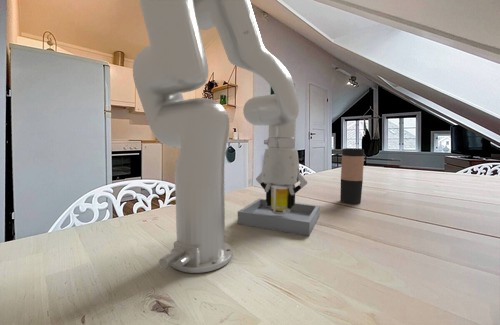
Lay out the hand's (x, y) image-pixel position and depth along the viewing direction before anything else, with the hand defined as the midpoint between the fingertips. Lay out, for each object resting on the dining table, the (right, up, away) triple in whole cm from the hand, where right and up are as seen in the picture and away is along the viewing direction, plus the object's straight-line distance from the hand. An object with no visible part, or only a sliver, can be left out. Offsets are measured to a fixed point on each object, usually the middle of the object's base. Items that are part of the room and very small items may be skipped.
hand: (280, 205), depth 72 cm
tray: (0, -4, +1) cm, 4 cm away
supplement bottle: (0, -2, 0) cm, 2 cm away
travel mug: (+29, -2, +21) cm, 36 cm away
